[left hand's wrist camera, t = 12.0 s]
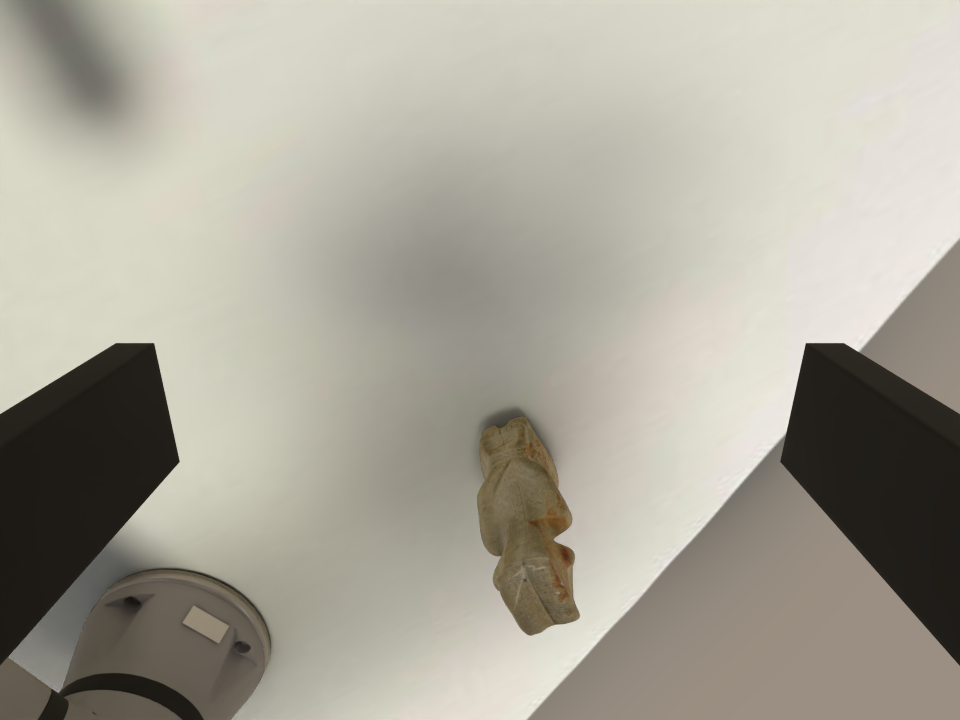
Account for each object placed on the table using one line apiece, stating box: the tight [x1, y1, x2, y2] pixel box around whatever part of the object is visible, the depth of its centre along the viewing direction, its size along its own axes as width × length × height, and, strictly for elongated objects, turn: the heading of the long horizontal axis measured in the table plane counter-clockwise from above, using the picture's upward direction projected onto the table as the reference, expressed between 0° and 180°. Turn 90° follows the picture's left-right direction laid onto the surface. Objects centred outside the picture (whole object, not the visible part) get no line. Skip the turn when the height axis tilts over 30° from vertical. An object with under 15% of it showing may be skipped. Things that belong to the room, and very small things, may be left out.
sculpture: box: [477, 416, 580, 635], centre depth 39 cm, size 6×7×15 cm
